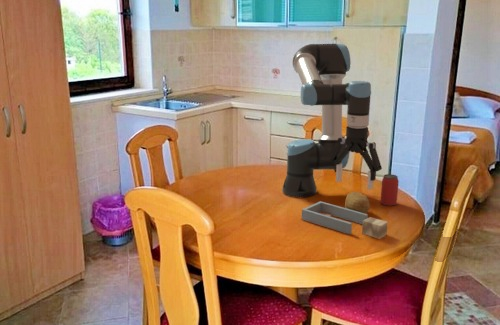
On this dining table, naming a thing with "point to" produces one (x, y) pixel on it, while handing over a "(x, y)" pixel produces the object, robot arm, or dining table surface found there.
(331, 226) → the u-shaped frame
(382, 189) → the beer can
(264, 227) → the dining table surface
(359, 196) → the potato
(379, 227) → the block
